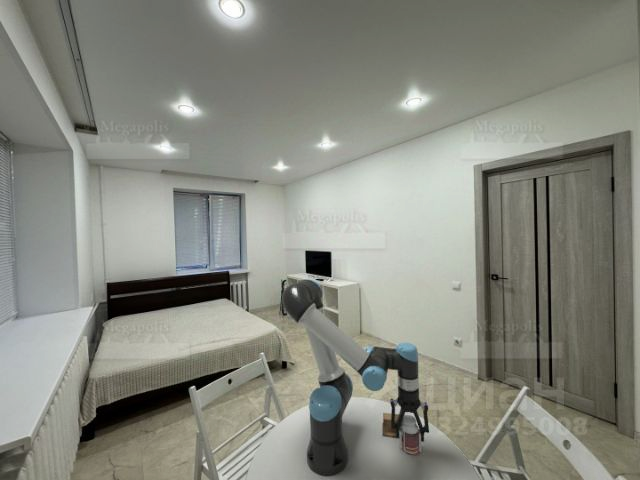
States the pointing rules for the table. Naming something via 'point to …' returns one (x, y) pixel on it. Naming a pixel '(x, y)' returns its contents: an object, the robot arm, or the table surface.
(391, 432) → the brown wooden block
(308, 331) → the robot arm
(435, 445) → the table surface
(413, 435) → the pill bottle
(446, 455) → the table surface
